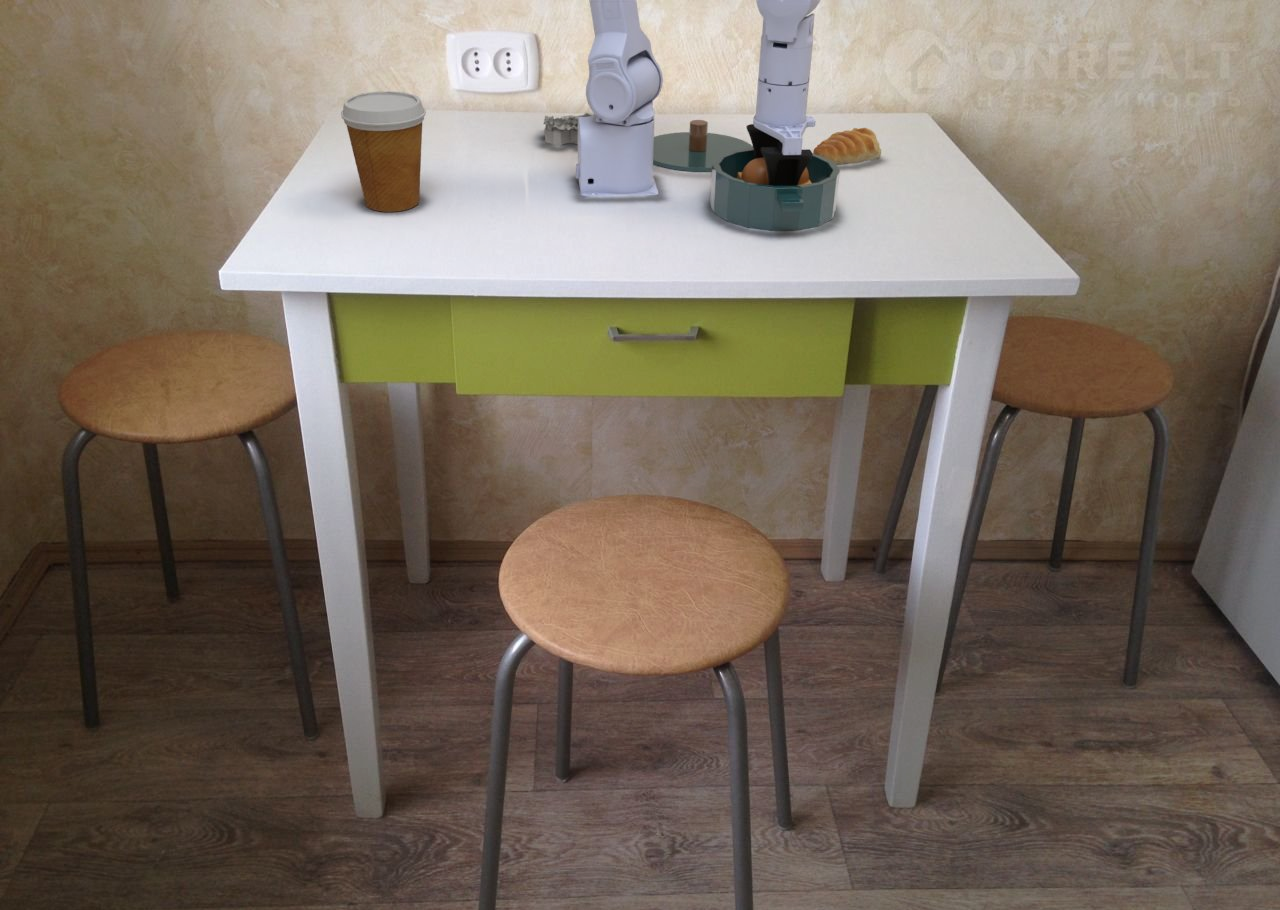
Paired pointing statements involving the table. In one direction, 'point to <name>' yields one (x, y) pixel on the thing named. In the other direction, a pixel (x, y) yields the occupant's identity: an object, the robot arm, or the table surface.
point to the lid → (693, 148)
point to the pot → (773, 195)
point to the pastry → (850, 147)
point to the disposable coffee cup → (386, 147)
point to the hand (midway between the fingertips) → (773, 196)
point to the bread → (764, 173)
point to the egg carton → (562, 129)
